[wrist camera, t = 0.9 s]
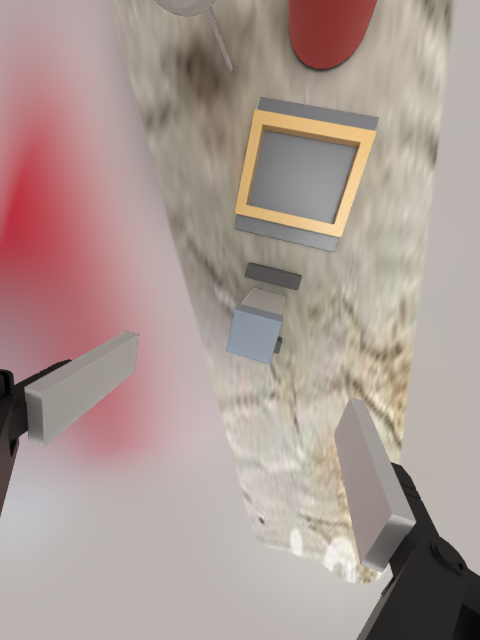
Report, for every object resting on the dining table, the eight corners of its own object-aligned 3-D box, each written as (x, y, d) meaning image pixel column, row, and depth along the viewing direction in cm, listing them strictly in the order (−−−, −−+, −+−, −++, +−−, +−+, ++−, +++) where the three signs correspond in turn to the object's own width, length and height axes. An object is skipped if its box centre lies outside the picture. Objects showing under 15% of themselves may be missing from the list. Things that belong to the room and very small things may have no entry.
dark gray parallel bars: (250, 262, 30) (248, 263, 29) (301, 275, 29) (301, 277, 28) (233, 335, 33) (230, 340, 32) (278, 348, 33) (278, 353, 31)
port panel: (261, 100, 25) (258, 89, 23) (376, 120, 24) (383, 110, 22) (235, 228, 29) (231, 227, 27) (332, 251, 28) (335, 252, 26)
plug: (253, 287, 31) (235, 309, 22) (285, 295, 30) (282, 322, 21) (245, 318, 32) (225, 351, 23) (277, 326, 32) (269, 364, 22)
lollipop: (255, 110, 25) (208, -44, 11) (198, 105, 26) (90, -44, 12) (267, 27, 23) (226, -282, 9) (205, 25, 24) (82, -265, 10)
